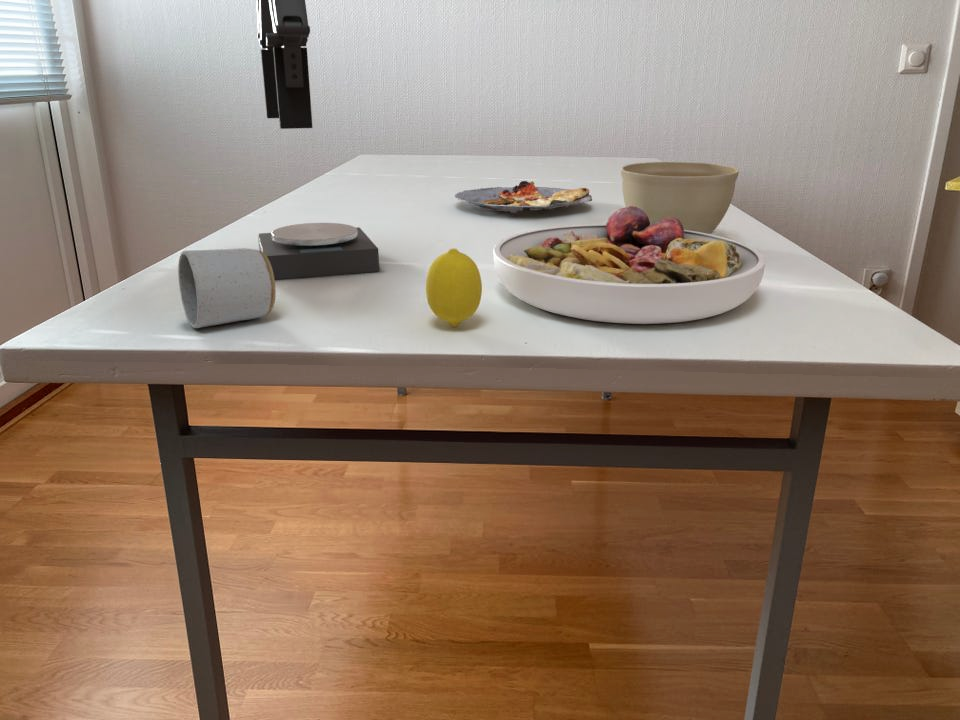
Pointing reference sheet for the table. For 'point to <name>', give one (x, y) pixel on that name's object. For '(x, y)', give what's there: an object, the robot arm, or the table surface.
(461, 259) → the lemon
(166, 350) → the table surface
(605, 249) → the bowl
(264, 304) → the ceramic mug
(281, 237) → the scale pan
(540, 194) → the food plate
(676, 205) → the planter bowl
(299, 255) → the scale
